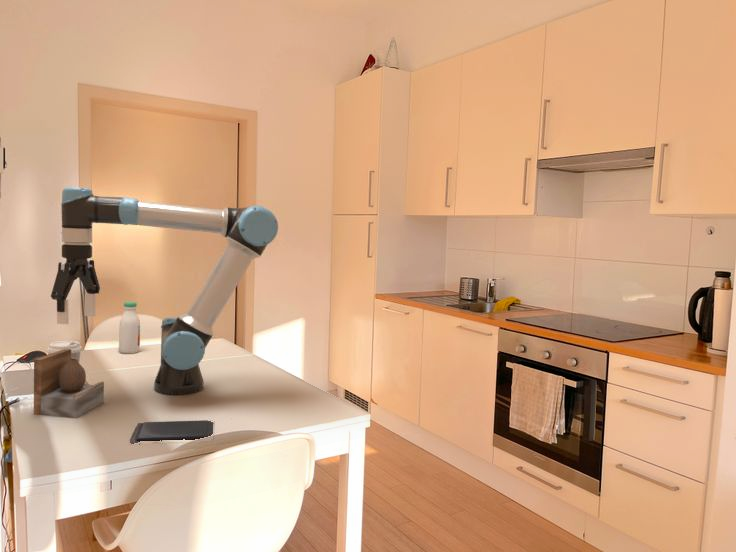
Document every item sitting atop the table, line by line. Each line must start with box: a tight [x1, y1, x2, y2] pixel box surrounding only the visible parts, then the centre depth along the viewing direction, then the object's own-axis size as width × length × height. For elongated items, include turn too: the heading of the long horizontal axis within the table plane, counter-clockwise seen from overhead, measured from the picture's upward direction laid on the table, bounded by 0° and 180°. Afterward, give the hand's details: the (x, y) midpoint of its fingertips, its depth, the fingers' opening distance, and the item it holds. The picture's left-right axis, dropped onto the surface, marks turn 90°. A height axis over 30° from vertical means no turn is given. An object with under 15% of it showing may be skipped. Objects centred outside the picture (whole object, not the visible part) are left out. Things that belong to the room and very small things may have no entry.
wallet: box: [129, 419, 213, 444], centre depth 146 cm, size 20×2×15 cm
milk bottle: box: [118, 301, 141, 354], centre depth 228 cm, size 8×8×20 cm
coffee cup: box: [46, 340, 83, 363], centre depth 173 cm, size 10×10×15 cm
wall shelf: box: [33, 349, 105, 419], centre depth 159 cm, size 12×14×15 cm
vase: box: [58, 359, 87, 392], centre depth 159 cm, size 7×7×9 cm
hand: (76, 319), depth 160 cm, fingers open, 13 cm apart
